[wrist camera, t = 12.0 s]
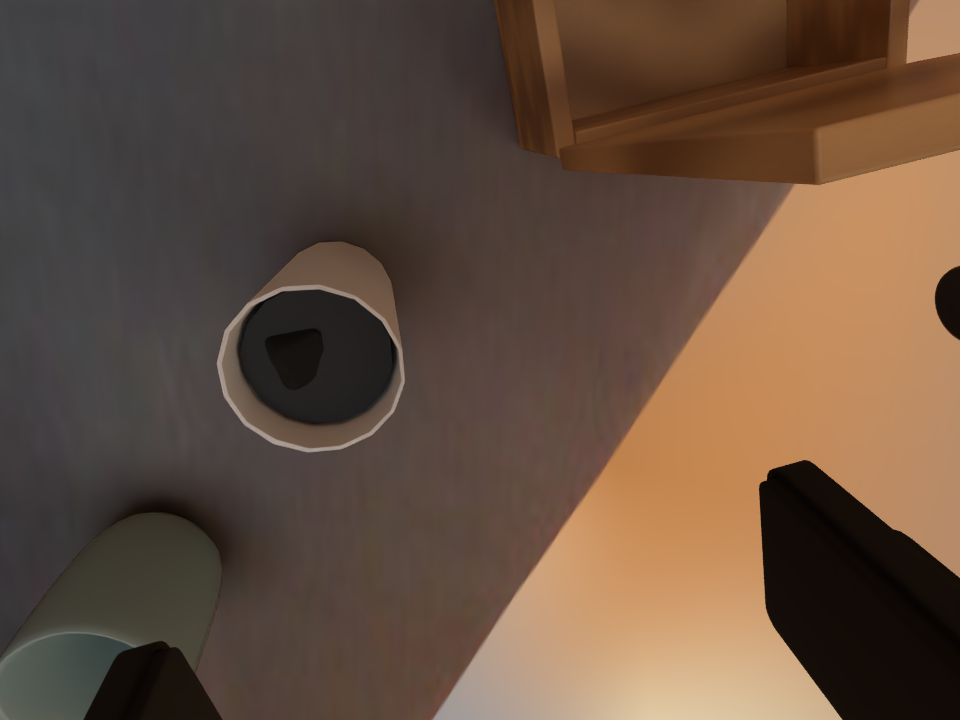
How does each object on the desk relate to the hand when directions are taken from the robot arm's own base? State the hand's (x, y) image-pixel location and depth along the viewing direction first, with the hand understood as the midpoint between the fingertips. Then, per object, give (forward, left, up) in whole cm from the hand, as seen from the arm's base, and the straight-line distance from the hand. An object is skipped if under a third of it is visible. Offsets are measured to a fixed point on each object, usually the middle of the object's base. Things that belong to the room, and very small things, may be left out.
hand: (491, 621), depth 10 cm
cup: (+12, -19, -24) cm, 33 cm away
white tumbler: (0, -5, -24) cm, 24 cm away
